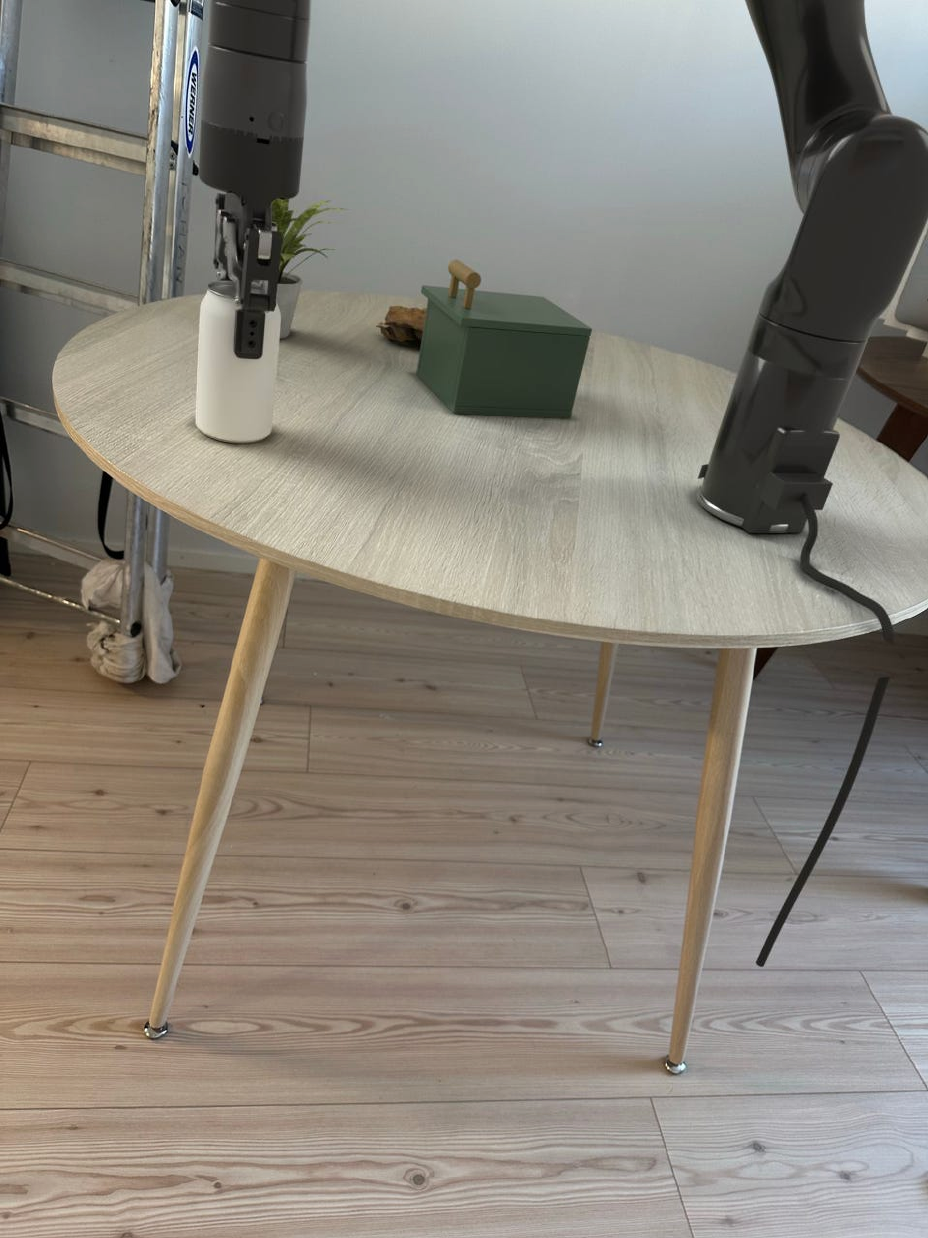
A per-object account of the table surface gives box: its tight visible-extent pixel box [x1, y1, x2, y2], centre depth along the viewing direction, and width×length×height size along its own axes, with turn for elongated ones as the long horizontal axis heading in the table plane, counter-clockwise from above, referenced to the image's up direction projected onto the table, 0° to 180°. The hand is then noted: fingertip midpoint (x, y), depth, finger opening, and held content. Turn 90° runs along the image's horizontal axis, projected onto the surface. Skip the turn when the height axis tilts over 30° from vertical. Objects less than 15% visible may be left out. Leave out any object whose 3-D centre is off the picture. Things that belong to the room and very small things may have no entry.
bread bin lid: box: [420, 259, 593, 337], centre depth 101 cm, size 14×12×4 cm
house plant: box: [252, 199, 348, 339], centre depth 108 cm, size 14×14×16 cm
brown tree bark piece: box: [375, 305, 427, 343], centre depth 120 cm, size 11×4×15 cm
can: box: [195, 280, 281, 444], centre depth 83 cm, size 6×6×12 cm
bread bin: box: [415, 298, 591, 419], centre depth 105 cm, size 14×12×9 cm
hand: (239, 342), depth 82 cm, fingers closed on can, 6 cm apart
